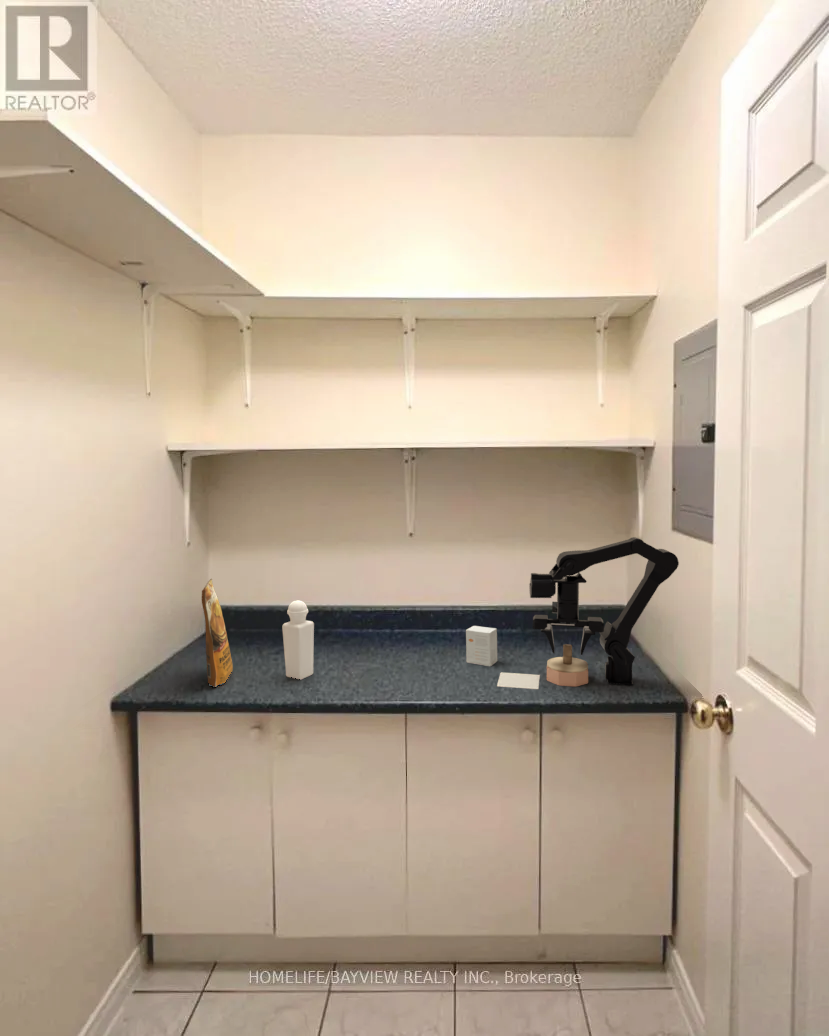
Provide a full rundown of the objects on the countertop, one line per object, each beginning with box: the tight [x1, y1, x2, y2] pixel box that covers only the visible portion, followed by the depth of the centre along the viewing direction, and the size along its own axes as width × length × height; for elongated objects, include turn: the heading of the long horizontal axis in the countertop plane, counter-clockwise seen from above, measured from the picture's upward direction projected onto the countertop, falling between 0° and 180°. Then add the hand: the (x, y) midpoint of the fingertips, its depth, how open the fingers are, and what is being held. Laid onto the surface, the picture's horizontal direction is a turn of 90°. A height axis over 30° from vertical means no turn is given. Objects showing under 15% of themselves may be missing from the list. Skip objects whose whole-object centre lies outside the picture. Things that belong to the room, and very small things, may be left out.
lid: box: [546, 643, 589, 673], centre depth 170 cm, size 11×11×6 cm
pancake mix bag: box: [201, 578, 234, 687], centre depth 174 cm, size 7×19×28 cm, turn 5°
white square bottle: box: [281, 599, 315, 681], centre depth 176 cm, size 6×6×22 cm
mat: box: [496, 672, 541, 690], centre depth 169 cm, size 11×11×1 cm
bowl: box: [546, 665, 589, 688], centre depth 170 cm, size 11×11×4 cm
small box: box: [465, 625, 498, 667], centre depth 185 cm, size 8×6×10 cm
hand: (567, 653), depth 169 cm, fingers open, 7 cm apart
